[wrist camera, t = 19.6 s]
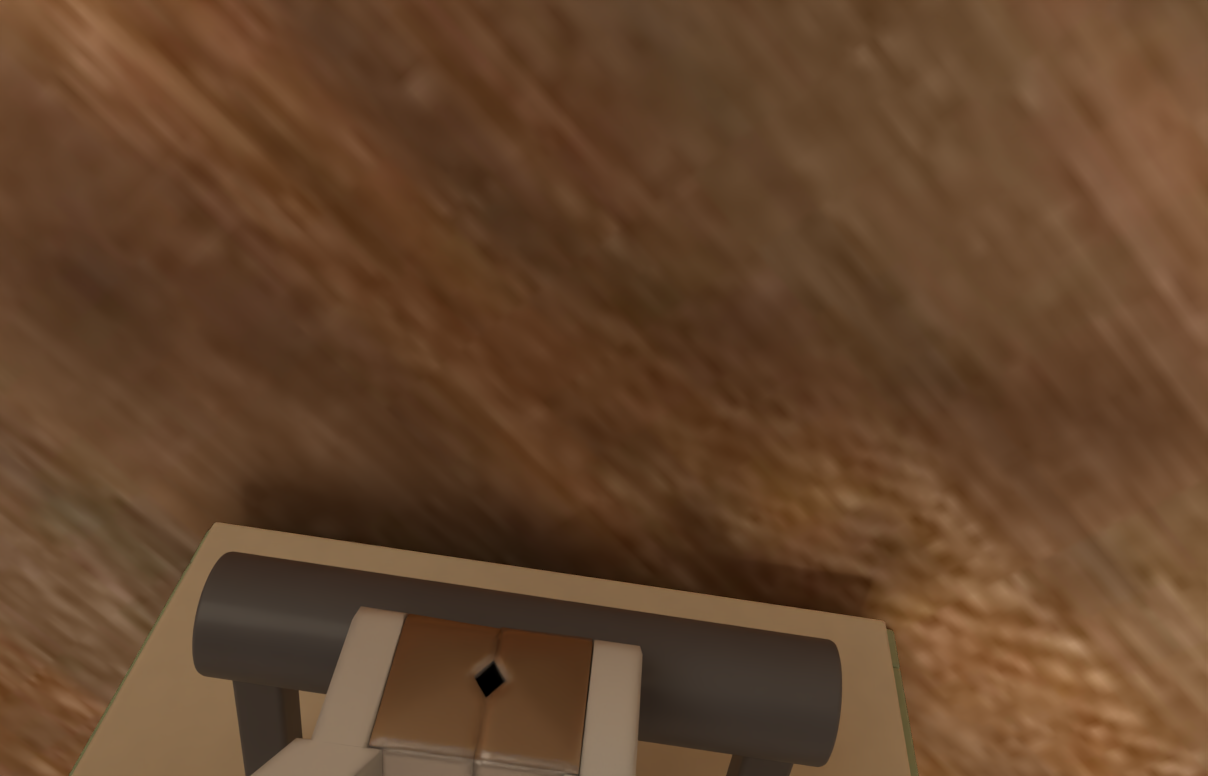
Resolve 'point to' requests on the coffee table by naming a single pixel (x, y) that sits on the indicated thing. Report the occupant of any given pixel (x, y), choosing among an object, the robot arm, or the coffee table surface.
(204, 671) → the drawer
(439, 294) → the coffee table surface
